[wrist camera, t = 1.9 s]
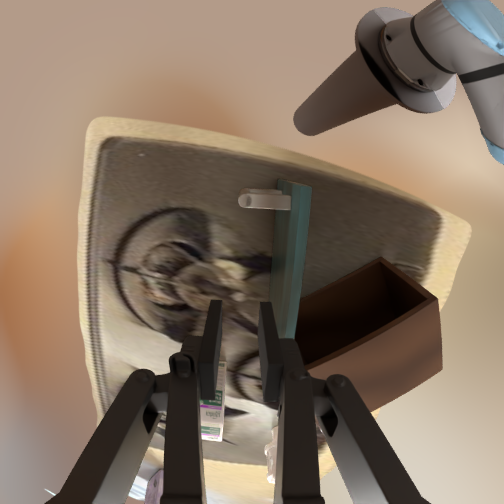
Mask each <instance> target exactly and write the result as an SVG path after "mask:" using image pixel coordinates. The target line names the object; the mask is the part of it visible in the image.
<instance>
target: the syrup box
mask: <svg viewBox="0 0 504 504" xmlns="http://www.w3.org/2000/svg"><path fill="white" fill-rule="evenodd" d="M226 369H227V362H225V361H223V362H222V361H219V367H218V377H217V387H216V397H215V401H213V400H201V396H200V415H201V436H202V439H204V440H213V441H222V432H223V422H224V402H225V383H226Z"/></svg>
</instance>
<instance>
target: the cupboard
mask: <svg viewBox="0 0 504 504" xmlns="http://www.w3.org/2000/svg"><path fill="white" fill-rule="evenodd" d="M294 340H295V341H296V342H297V344H298V347H299V351H300V354H301V357H302V361H303V364H304V368H305V370H307V371H308V372H309V373H310V375H311V376H312V377H314V378H318V379H323V380H326V379H327V377H329V376H330V375H333V374H341V375H344V376H346V377H348V378H349V379H350V381H351V382H352V384H353V385H354V387H355V389H356V390H357V392H358V393H359V395H360V397H361V398H362V400H363V401H364V403H365V405H366V406H367V408H368V409H369V411H370V412H372V411H374V410H376V409H378V408H380V407H382V406H383V405H385V404H387V403H389V402H391V401H393V400H395V399H396V398H398V397H400V396H402V395H403V394H405V393H407V392H409V391H410V390H412V389H413V388H415V387H417V386H418V385H420V384H421V383H423V382H425V381H426V380H428V379H429V378H431V377H432V376H434V375H435V374H437V373H438V372H440V371H441V370H442V368H443V366H442V338H441V324H440V313H439V304H438V298H437V297H435V296H434V295H433V294H431V293H430V292H429V291H427V290H426V289H425V288H424V287H422V286H421V285H420V284H418V283H417V282H416V281H414V280H413V279H412V278H410V277H409V276H408V275H406V274H405V273H404V272H402V271H401V270H399V269H398V268H397V267H395V266H394V265H393V264H391V263H390V262H388V261H387V260H386V259H384V258H383V257H380V258H378V259H376V260H375V261H373V262H371V263H369V264H367V265H365V266H364V267H362V268H360V269H358V270H356V271H354V272H352V273H350V274H349V275H347V276H345V277H343V278H341V279H339V280H337V281H335V282H333V283H331V284H329V285H327V286H325V287H323V288H321V289H319V290H317V291H315V292H313V293H311V294H309V295H307V296H305V297H303V298H301V299H300V303H299V310H298V317H297V323H296V330H295V336H294ZM315 422H316V424H317V425H318V427H319V428H320V430H321V431H322V429H321V427H320V425H319V422H318V420H317V418H316V415H315ZM322 433H323V432H322Z"/></svg>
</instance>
